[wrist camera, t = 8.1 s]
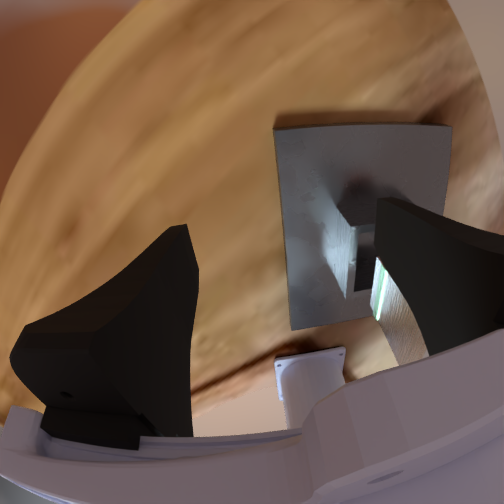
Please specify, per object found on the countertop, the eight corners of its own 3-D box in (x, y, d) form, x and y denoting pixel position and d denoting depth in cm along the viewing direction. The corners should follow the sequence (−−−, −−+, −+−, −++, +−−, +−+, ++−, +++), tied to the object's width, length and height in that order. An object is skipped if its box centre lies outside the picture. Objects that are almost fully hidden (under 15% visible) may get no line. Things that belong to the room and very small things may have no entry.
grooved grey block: (418, 294, 19) (463, 367, 14) (368, 305, 20) (406, 388, 14) (431, 239, 17) (493, 311, 11) (376, 248, 17) (431, 333, 11)
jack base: (417, 297, 28) (439, 332, 24) (290, 323, 28) (299, 366, 24) (444, 124, 18) (487, 141, 14) (272, 128, 19) (285, 145, 14)
